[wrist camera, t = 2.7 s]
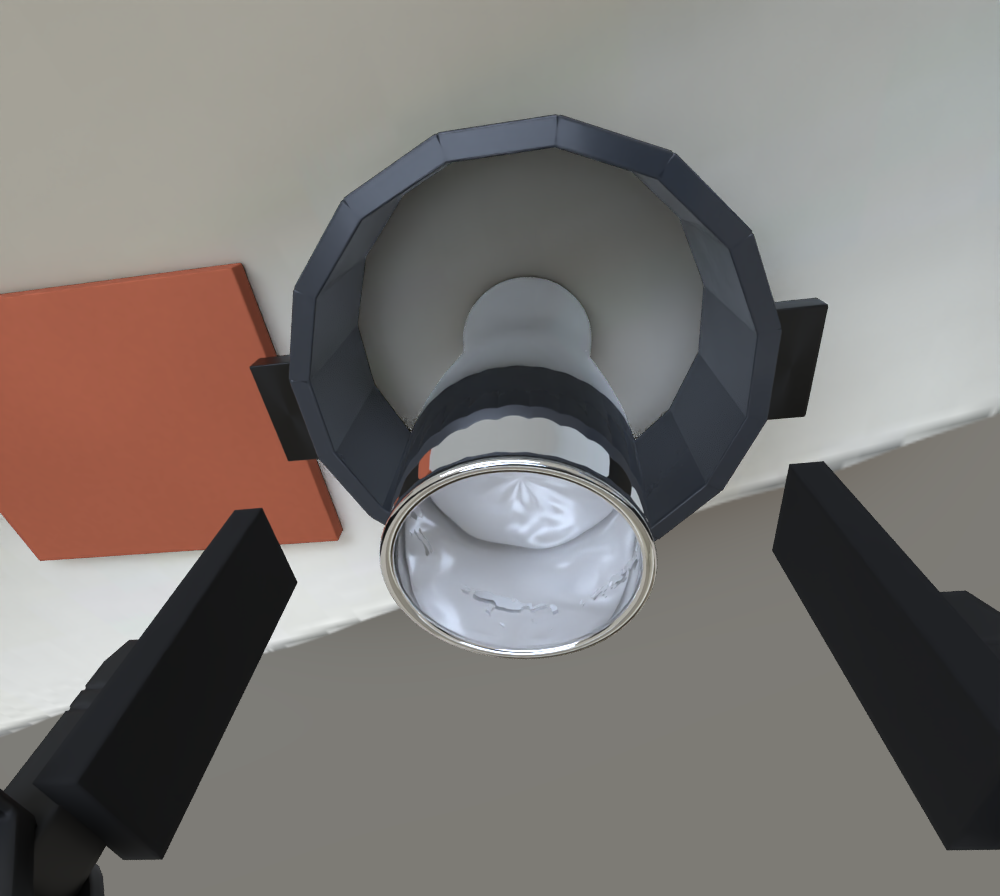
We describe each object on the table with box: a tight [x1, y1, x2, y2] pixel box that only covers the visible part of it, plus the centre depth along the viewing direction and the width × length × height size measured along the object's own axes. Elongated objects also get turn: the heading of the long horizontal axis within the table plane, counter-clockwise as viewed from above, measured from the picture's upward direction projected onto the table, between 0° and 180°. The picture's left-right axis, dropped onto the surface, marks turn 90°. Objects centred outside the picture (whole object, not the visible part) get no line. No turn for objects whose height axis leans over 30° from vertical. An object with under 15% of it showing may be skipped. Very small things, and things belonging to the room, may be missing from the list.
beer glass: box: [379, 277, 657, 659], centre depth 19 cm, size 7×7×15 cm
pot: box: [249, 114, 828, 541], centre depth 22 cm, size 21×18×6 cm
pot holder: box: [0, 263, 343, 561], centre depth 28 cm, size 20×16×1 cm
